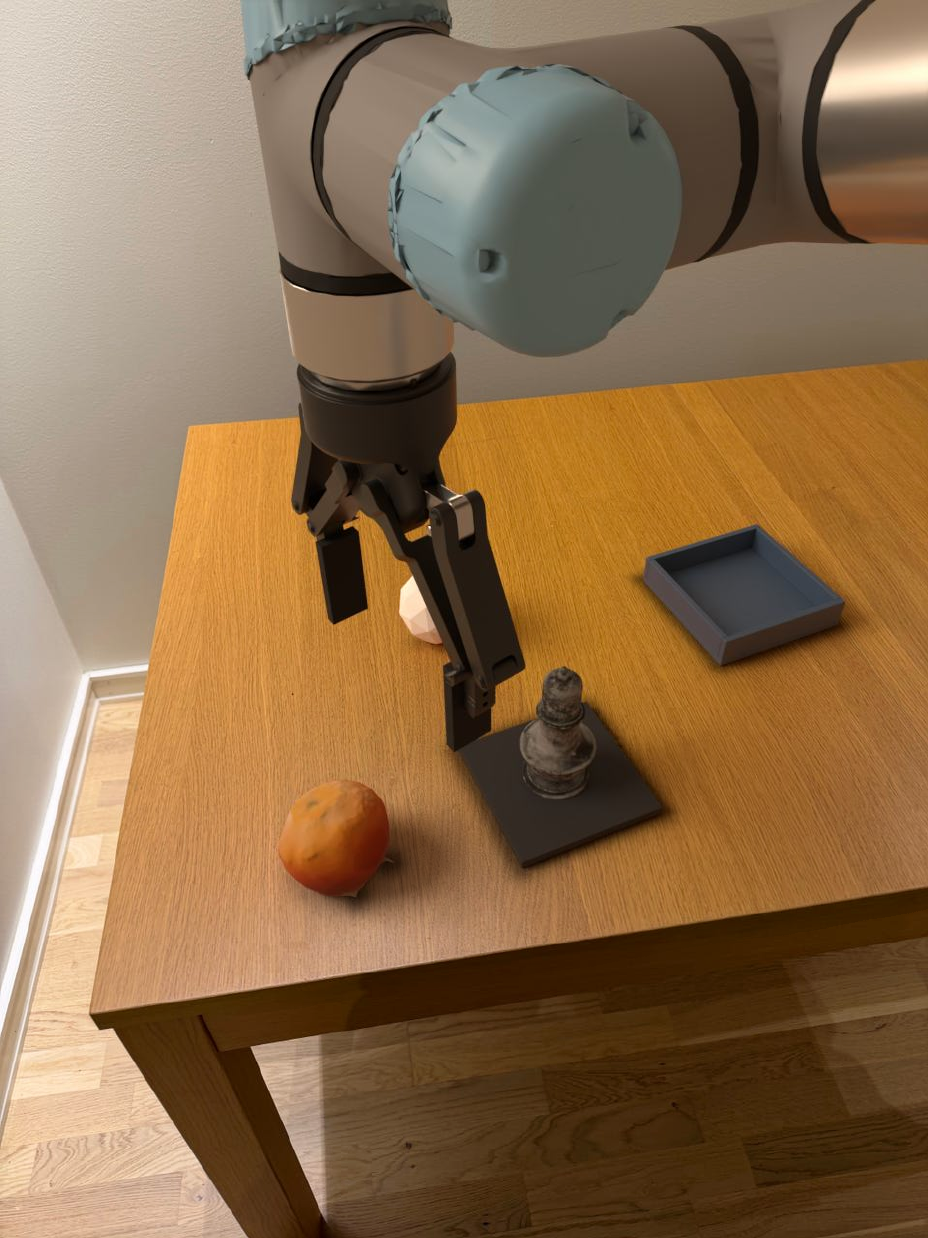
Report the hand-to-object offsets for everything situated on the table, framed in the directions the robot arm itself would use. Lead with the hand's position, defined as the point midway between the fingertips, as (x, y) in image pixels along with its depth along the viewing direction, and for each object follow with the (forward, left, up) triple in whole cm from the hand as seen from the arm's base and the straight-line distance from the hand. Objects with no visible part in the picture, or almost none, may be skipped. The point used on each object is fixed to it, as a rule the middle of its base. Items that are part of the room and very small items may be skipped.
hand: (404, 671), depth 56 cm
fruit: (0, +6, -18) cm, 19 cm away
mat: (0, -12, -17) cm, 21 cm away
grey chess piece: (0, -12, -17) cm, 21 cm away
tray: (+12, -38, -18) cm, 43 cm away
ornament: (+20, -10, -18) cm, 28 cm away
